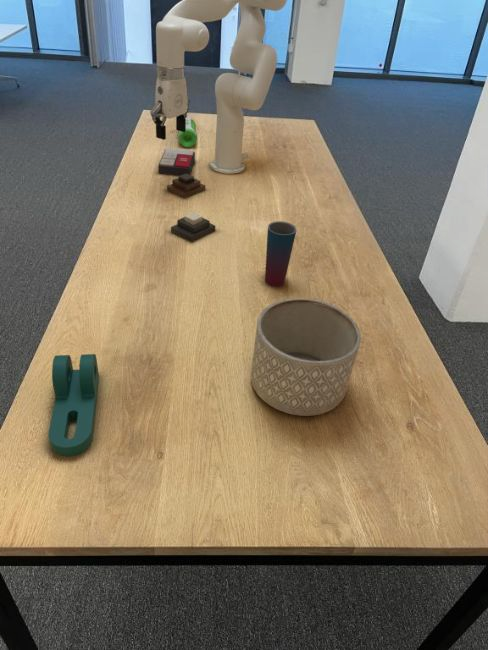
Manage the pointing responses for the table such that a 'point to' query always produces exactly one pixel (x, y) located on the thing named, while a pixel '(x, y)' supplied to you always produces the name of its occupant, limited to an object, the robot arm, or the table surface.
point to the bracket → (73, 403)
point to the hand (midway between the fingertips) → (171, 134)
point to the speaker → (188, 133)
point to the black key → (186, 178)
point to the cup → (278, 251)
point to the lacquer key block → (192, 229)
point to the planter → (303, 355)
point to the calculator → (176, 162)
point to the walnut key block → (185, 188)
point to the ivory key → (193, 218)
